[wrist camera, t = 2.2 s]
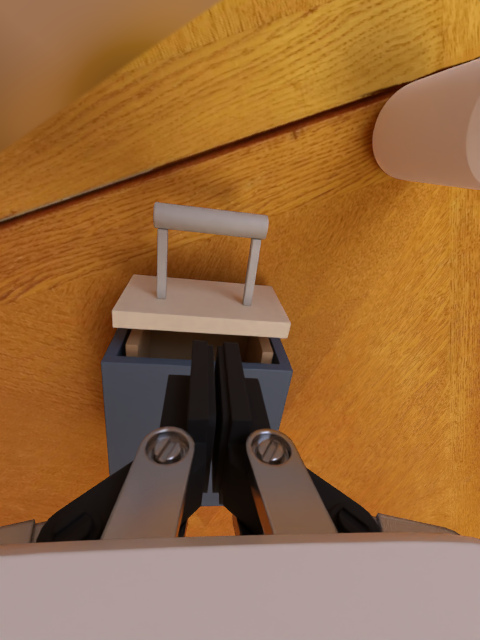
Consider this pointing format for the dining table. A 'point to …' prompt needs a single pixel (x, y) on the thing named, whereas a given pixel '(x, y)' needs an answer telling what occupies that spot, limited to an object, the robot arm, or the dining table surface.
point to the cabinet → (149, 393)
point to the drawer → (201, 296)
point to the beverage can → (433, 129)
